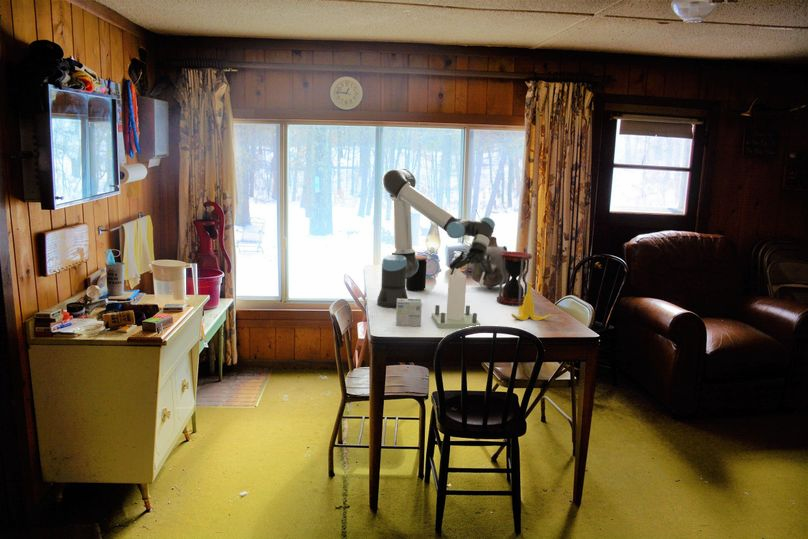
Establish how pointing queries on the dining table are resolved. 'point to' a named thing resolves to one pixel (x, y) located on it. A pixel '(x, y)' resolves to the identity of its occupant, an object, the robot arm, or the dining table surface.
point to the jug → (495, 265)
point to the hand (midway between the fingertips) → (465, 283)
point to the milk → (456, 295)
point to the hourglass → (513, 278)
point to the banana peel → (528, 307)
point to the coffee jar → (418, 276)
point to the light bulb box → (408, 312)
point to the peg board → (443, 322)
